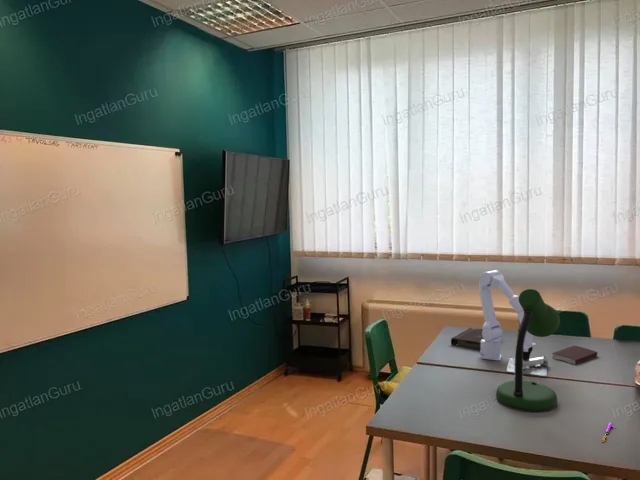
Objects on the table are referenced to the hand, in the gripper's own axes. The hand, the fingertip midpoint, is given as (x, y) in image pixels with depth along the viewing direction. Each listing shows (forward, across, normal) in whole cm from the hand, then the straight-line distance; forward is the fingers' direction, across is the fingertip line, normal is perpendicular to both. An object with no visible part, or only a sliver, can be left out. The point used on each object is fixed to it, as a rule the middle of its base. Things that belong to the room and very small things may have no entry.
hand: (525, 361), depth 244 cm
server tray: (+3, -1, 0) cm, 3 cm away
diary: (+3, +33, +27) cm, 43 cm away
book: (+3, +23, -22) cm, 32 cm away
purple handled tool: (+3, -60, -29) cm, 67 cm away
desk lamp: (+3, -36, -3) cm, 36 cm away
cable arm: (+1, 0, -3) cm, 3 cm away
